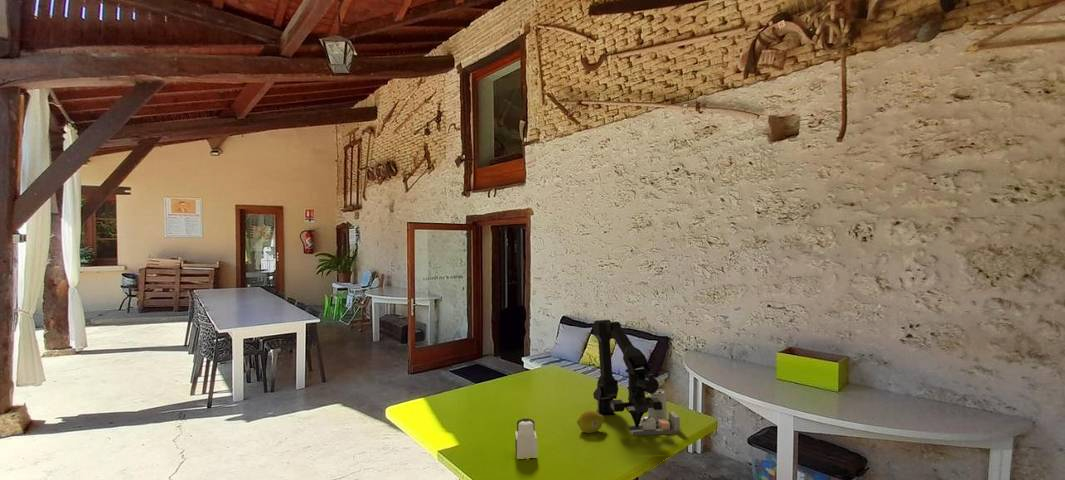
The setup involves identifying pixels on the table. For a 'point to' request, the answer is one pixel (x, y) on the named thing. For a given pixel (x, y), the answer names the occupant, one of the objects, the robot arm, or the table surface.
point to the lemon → (590, 421)
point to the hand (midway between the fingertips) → (636, 427)
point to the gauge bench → (674, 427)
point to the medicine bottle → (525, 439)
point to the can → (662, 413)
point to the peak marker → (663, 424)
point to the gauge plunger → (647, 423)
